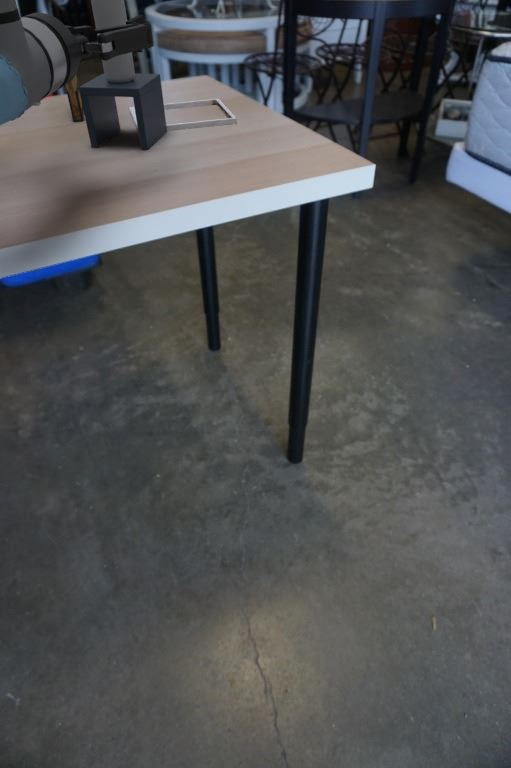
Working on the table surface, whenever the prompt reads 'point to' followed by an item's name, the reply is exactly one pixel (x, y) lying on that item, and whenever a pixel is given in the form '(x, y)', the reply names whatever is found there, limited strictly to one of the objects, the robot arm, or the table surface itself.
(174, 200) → the table surface
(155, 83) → the shelf
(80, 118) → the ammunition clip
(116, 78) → the beverage can
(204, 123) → the photo frame
